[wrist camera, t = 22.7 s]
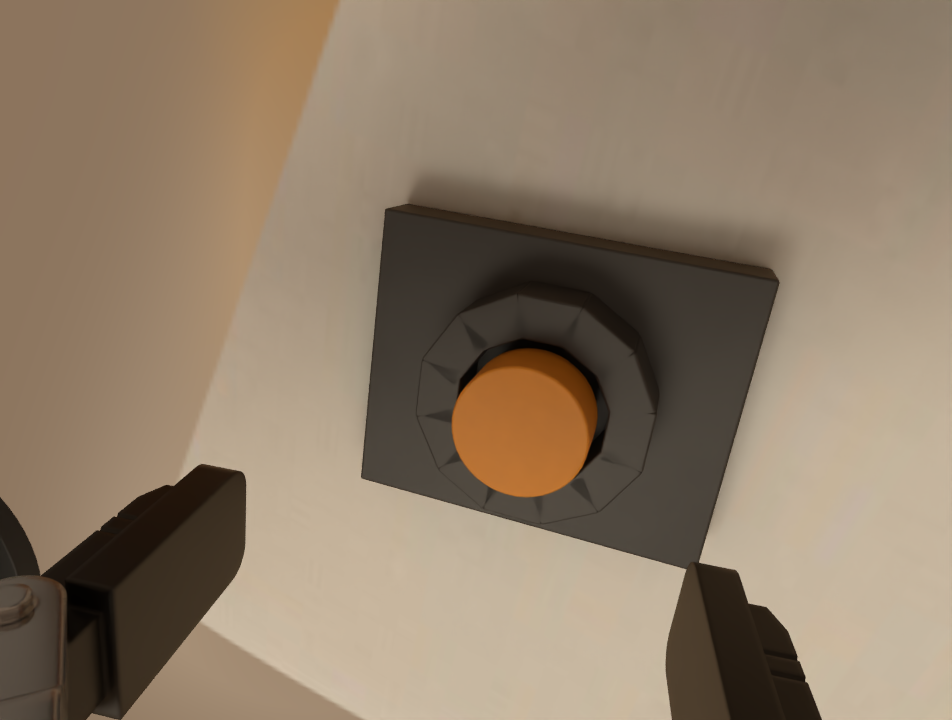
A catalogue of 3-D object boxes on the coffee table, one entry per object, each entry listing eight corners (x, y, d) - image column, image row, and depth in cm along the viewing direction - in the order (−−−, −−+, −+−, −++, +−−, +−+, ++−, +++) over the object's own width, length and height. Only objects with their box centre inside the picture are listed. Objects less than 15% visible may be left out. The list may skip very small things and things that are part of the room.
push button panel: (380, 457, 25) (334, 504, 22) (406, 203, 22) (357, 213, 19) (695, 543, 22) (696, 610, 19) (773, 269, 19) (790, 294, 16)
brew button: (462, 451, 20) (442, 478, 19) (479, 334, 19) (460, 352, 17) (584, 483, 19) (574, 514, 18) (610, 363, 18) (602, 385, 17)
